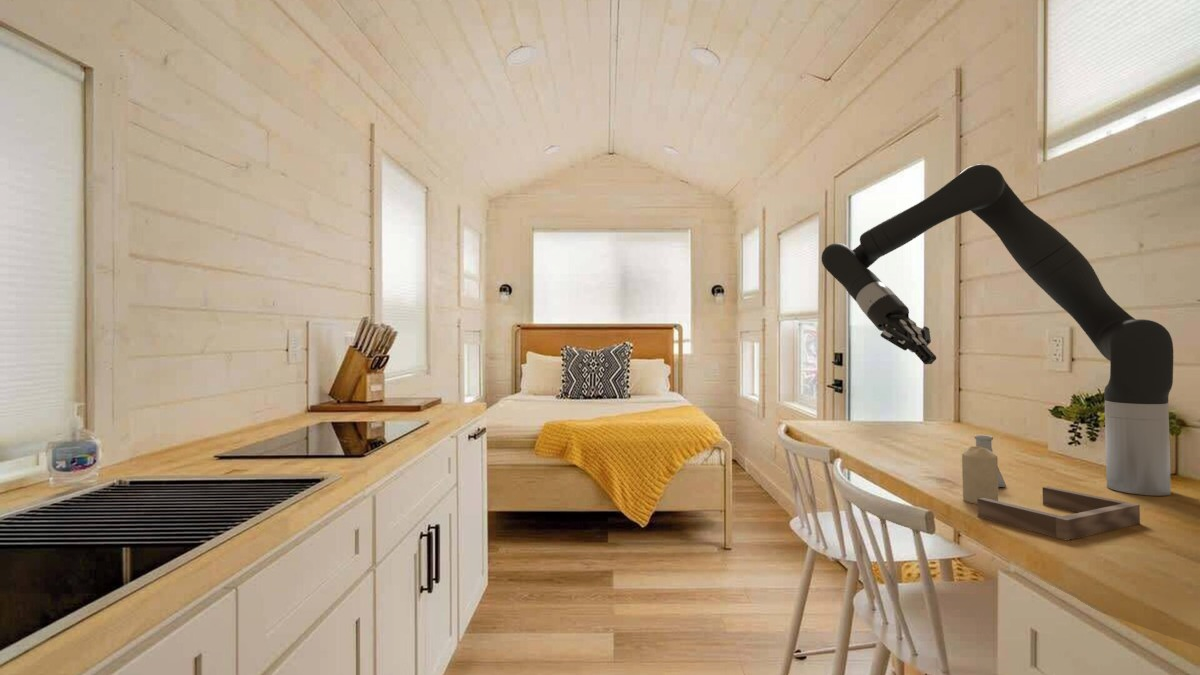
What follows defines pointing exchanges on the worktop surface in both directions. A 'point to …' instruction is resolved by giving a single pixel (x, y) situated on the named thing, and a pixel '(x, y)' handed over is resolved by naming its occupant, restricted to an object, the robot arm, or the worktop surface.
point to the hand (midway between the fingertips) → (931, 361)
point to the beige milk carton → (979, 474)
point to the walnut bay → (1090, 520)
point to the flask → (986, 443)
